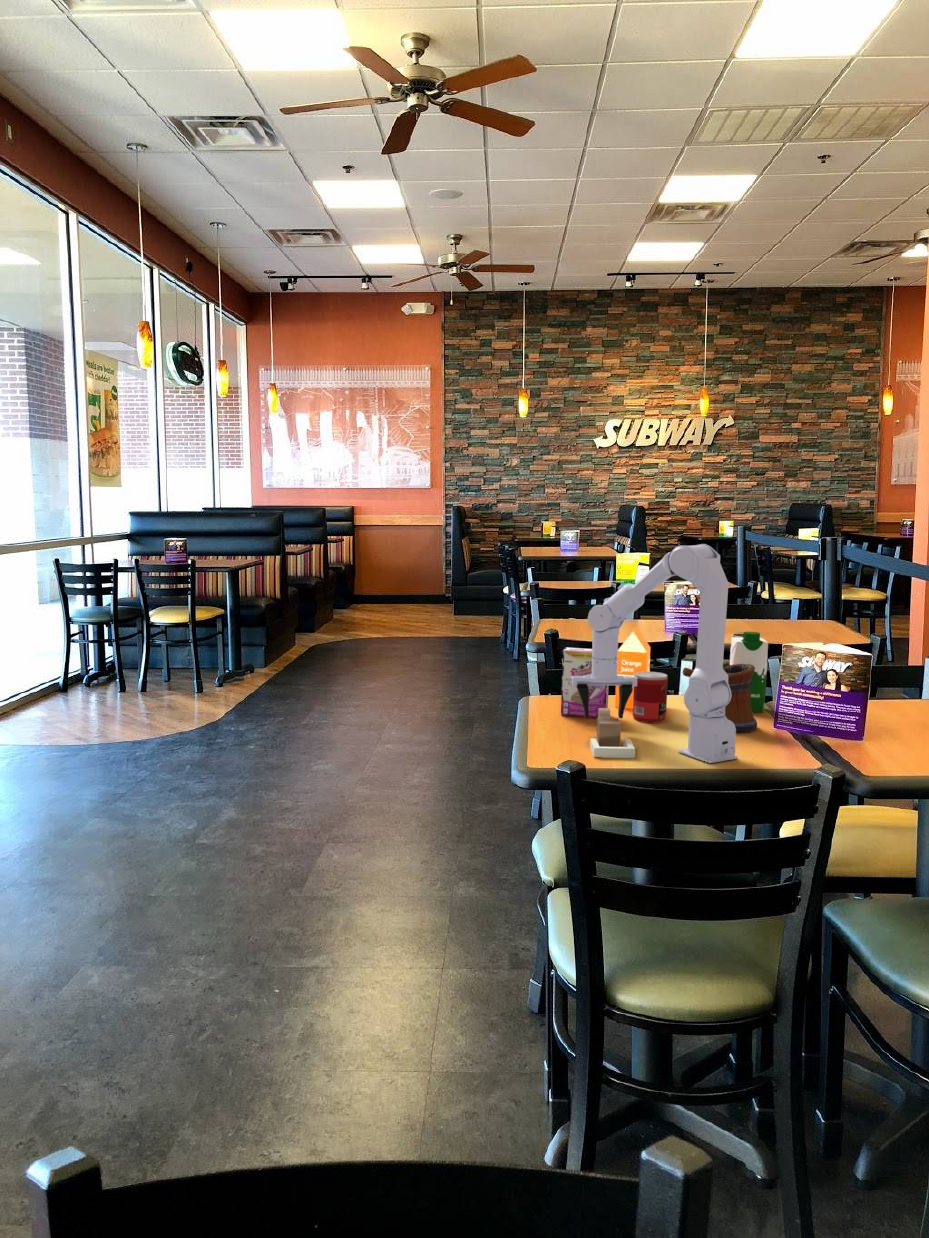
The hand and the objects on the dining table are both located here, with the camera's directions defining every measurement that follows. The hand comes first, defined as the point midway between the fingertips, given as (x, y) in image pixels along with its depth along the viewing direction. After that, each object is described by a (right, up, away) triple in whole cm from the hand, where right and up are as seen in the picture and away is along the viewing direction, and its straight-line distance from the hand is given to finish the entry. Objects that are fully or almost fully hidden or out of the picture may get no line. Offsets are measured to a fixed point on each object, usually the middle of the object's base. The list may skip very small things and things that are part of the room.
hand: (603, 716), depth 211 cm
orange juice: (+12, 0, +30) cm, 32 cm away
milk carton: (+40, -1, +26) cm, 48 cm away
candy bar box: (-2, -2, +18) cm, 18 cm away
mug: (+28, -4, +7) cm, 29 cm away
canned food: (+13, -2, +15) cm, 20 cm away
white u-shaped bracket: (0, -6, -15) cm, 16 cm away
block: (0, -5, -6) cm, 8 cm away
